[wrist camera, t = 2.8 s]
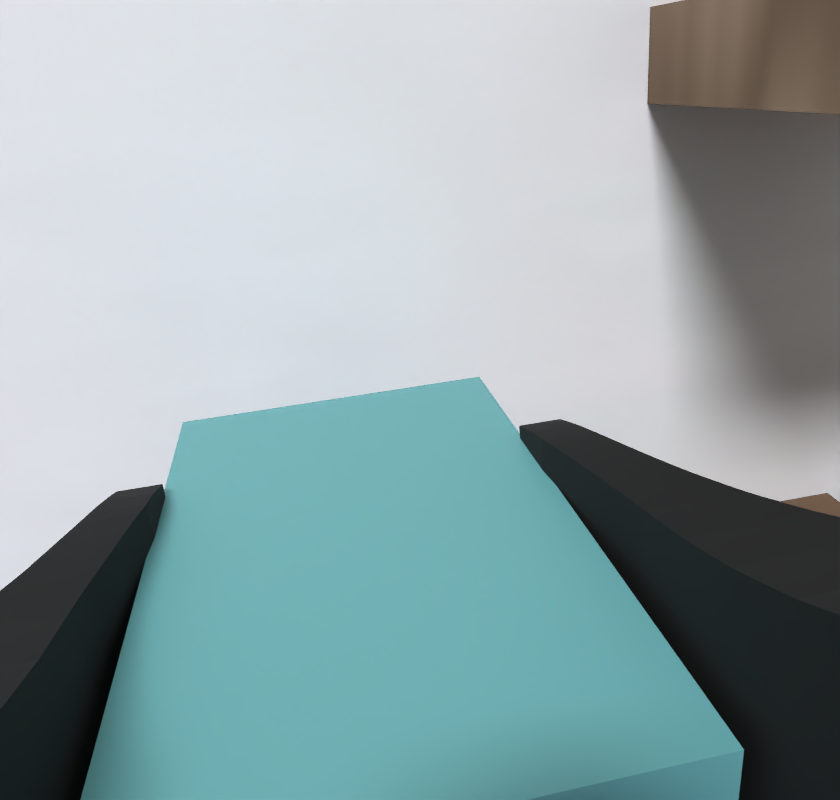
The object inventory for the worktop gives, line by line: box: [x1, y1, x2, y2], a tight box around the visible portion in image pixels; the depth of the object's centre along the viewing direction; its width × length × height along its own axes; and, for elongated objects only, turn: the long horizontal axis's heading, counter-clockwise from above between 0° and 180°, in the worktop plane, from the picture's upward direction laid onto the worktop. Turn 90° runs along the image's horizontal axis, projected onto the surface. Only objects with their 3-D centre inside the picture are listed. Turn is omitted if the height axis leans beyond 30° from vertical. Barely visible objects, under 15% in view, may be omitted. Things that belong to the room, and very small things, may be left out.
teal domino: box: [80, 377, 744, 800], centre depth 9 cm, size 2×5×8 cm, turn 95°
